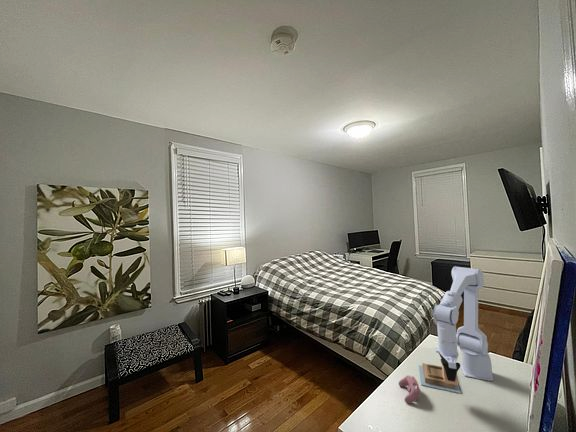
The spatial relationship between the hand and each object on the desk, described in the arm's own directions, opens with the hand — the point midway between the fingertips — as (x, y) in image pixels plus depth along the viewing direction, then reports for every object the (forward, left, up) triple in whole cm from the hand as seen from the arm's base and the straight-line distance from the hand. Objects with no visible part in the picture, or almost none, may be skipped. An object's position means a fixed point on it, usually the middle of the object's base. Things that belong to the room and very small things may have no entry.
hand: (449, 376), depth 86 cm
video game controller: (+14, +3, -9) cm, 16 cm away
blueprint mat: (+3, -11, -8) cm, 14 cm away
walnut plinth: (+3, -11, -8) cm, 14 cm away
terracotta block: (0, 0, -2) cm, 2 cm away
